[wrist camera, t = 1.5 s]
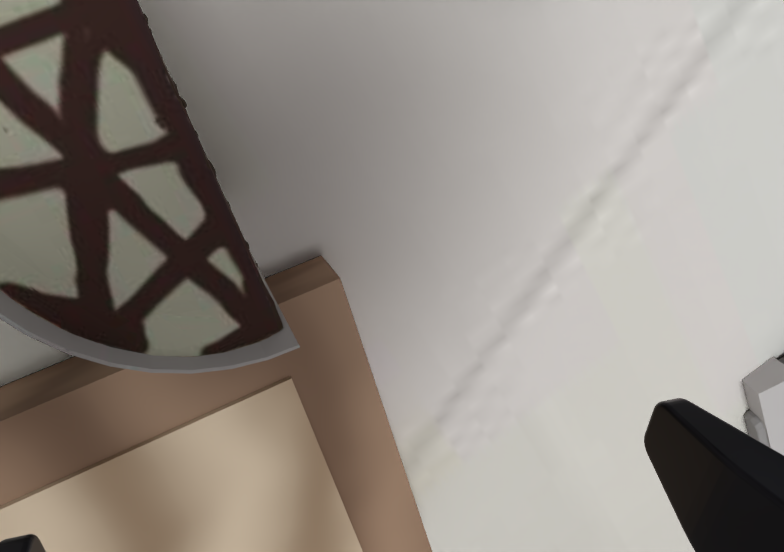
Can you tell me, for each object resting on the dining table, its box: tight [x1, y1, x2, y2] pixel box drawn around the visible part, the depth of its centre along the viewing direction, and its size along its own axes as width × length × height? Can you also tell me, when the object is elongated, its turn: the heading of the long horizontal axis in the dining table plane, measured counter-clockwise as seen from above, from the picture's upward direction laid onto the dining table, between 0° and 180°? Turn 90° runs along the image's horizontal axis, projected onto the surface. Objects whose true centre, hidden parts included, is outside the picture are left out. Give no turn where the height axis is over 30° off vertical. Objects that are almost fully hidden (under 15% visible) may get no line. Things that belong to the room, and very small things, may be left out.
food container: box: [0, 0, 300, 374], centre depth 17 cm, size 12×6×10 cm, turn 19°
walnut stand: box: [0, 256, 432, 552], centre depth 26 cm, size 22×16×3 cm
